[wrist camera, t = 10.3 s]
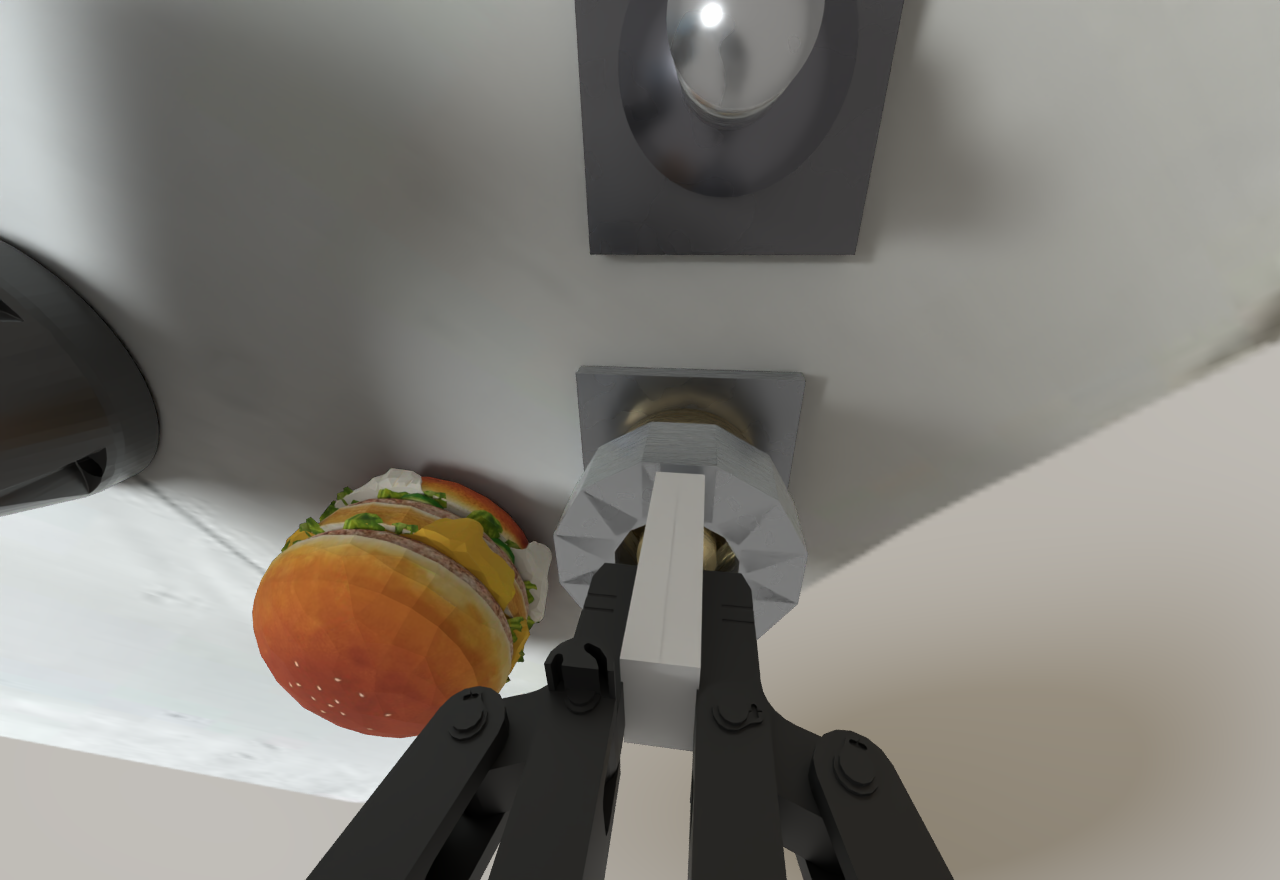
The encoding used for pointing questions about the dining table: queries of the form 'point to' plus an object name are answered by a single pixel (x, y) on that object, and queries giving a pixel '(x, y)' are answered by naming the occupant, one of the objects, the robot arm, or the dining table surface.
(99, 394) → the robot arm
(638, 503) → the grey faceted ring
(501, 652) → the burger
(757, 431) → the hub
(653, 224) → the stand
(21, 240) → the dining table surface
